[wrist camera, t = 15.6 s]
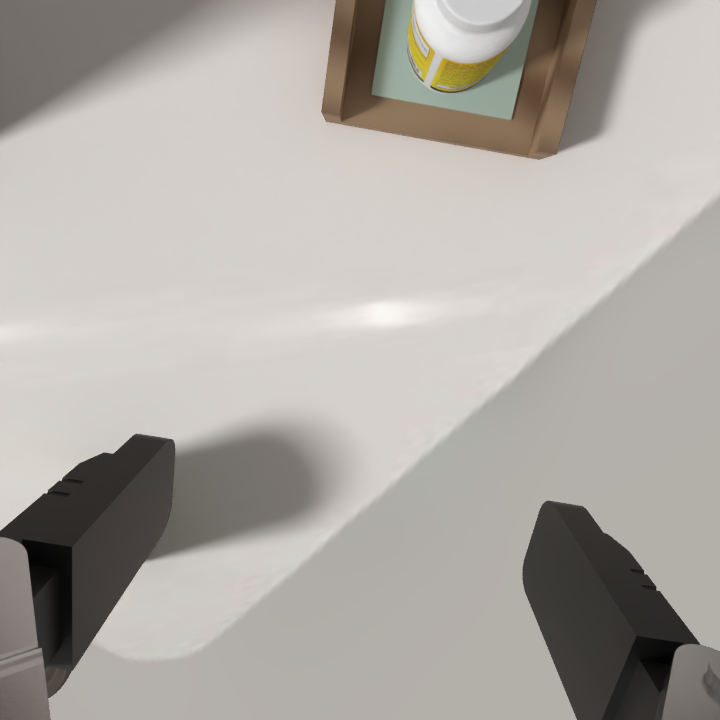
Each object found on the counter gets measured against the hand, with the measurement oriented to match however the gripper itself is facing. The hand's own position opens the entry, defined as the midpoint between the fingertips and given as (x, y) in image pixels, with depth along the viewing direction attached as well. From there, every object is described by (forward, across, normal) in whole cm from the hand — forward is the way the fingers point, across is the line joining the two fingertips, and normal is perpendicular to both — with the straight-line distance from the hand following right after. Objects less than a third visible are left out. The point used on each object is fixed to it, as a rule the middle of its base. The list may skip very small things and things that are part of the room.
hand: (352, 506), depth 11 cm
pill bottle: (+29, -3, -18) cm, 34 cm away
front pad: (+29, -3, -18) cm, 34 cm away
